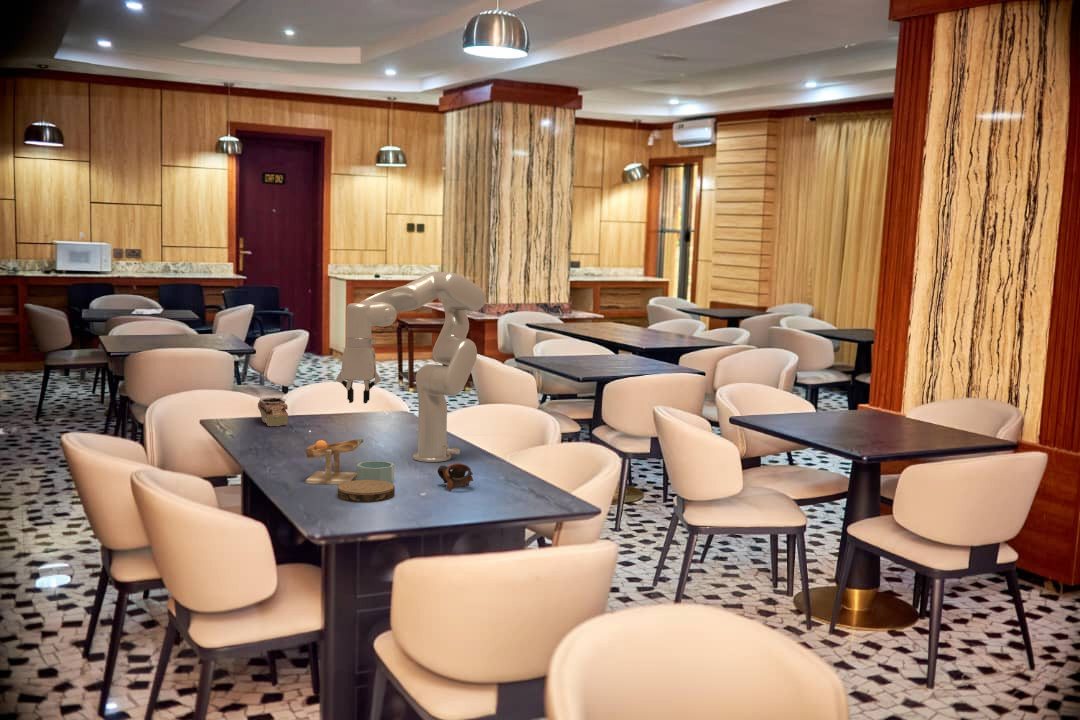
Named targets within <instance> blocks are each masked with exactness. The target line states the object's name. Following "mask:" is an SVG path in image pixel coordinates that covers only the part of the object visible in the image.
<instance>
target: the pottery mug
mask: <svg viewBox="0 0 1080 720" xmlns="http://www.w3.org/2000/svg"><path fill="white" fill-rule="evenodd" d="M471 470H472V469H471V468H470V466H469V465H467V464H464V463H461V462H459V463H458V462H455V463H451V464H449V465H448V466H446V465H440V466H439V467H438V468H437V474H438V476H439V477H440V478H441V480H442V481H443V483H444V485H445V484H446V490H448V491H449V492H450V491H451V492H452V489H456V488H461V487H465V486H466V485H467V486H470V485H469V484H470V482H474V478H473V474H474V473H473V472H472V471H471ZM466 473H467V474H466Z"/></svg>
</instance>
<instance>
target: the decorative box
mask: <svg viewBox="0 0 1080 720" xmlns="http://www.w3.org/2000/svg"><path fill="white" fill-rule="evenodd" d="M286 401H287V399H285V398H282V397H263V398H260V399H259V400H258V402H257V408H258V410H259V412H260V415H261V420H262V422H263V423H264V424H265V423H266V424H265V425H266V426H267V427H269V426H270V427H276V426H279V427H280V426H286V425H288V420H289V414H288V412H287V410H288V403H286Z"/></svg>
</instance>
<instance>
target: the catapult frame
mask: <svg viewBox="0 0 1080 720" xmlns="http://www.w3.org/2000/svg"><path fill="white" fill-rule="evenodd" d="M332 456H333V457H332ZM324 457H325V460H324V461H325V463H324V464H325V466H324V467H325V470H324V471H322V470H321V471H320V470H316V471H314V473H313V474H311V475H310V476H309V477H308V478H306V479H305V484H312V485H313V484H314V485H315V484H316V485H317V484H319V485H339V484H341V483H344V482H349V481H355V480H357V472H349V471H347V472H345V471H341V469H340V468H341V467H340V466H341V465H340V463H341V460H340V459H341V453H337V454H332V450H325V456H324ZM332 459H333V460H332ZM332 461H333V462H332ZM332 463H333V465H332ZM332 467H333V471H332Z"/></svg>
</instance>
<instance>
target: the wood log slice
mask: <svg viewBox="0 0 1080 720" xmlns="http://www.w3.org/2000/svg"><path fill="white" fill-rule="evenodd" d="M395 487H396V486H395V484H394V483H393V482H392V483H390V482H386V481H380V480H357V479H355V480H354V481H349V482H344V483H341V484H337V497H338V499H339V500H342V501H346V502H351V503H363V504H365V503H378V502H383V501H388V500H391V499H393V498H394V497H395V495H396V494H395V493H396V491H395V490H396V489H395Z"/></svg>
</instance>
